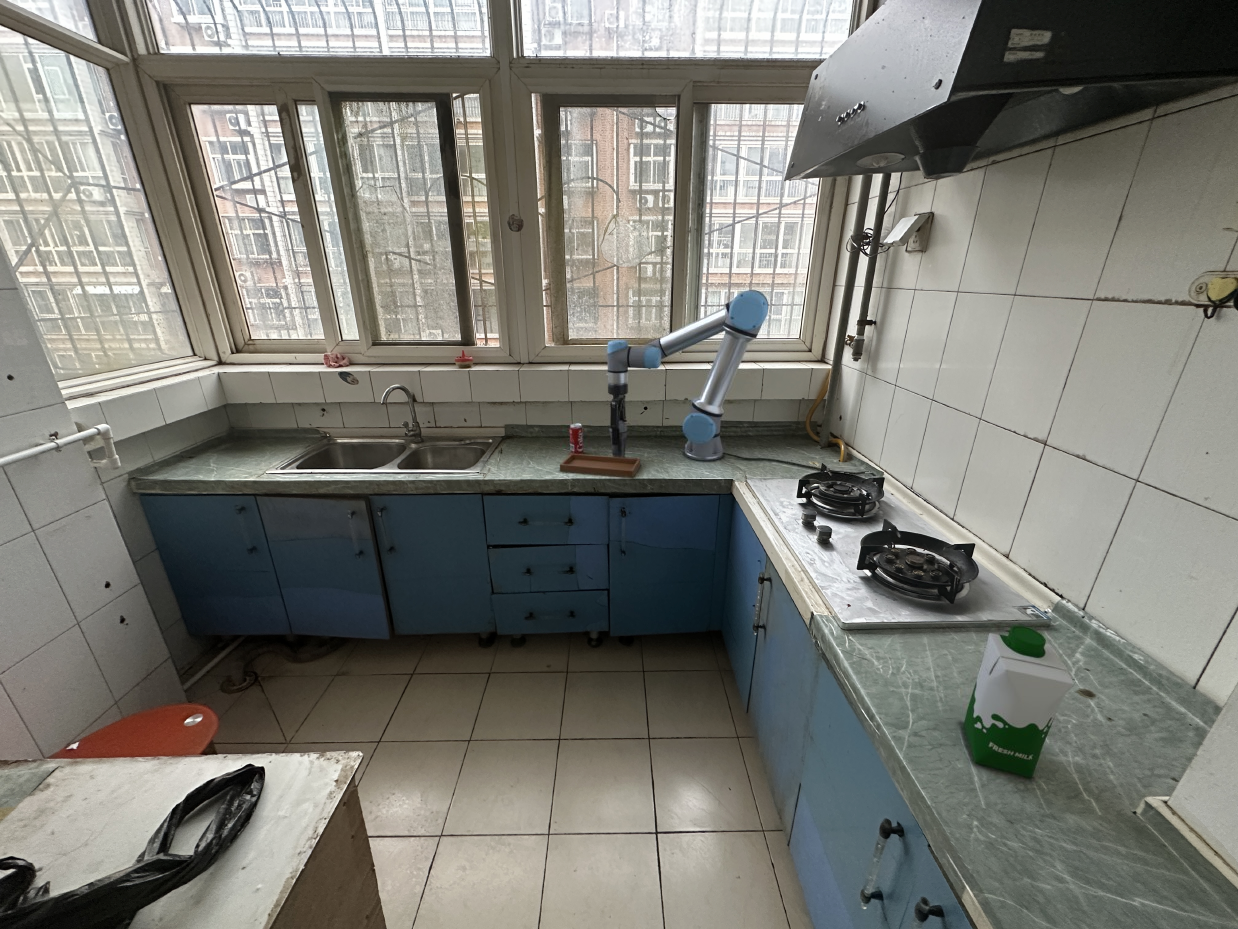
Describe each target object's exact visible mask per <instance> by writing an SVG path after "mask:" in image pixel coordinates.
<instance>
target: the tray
mask: <svg viewBox="0 0 1238 929" xmlns="http://www.w3.org/2000/svg"><path fill="white" fill-rule="evenodd" d="M640 466H641V458H633V457H624V458H621V457H613V456H608V455H596V454H595V455H594V454H584V453H583V454H572V453H571V452H570V454H569V455H568V456H567V457H566V458H565V459H564V460H563V461H562V462H561V463H560V464H559V471H560V472H566V473H576V474H587V475H596V476H597V475H598V476H599V475H600V476H608V477H610V476H611V477H621V478H634V476H635V475H636V473H637V471H638V470H639V468H640Z"/></svg>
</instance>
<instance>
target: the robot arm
mask: <svg viewBox="0 0 1238 929" xmlns="http://www.w3.org/2000/svg"><path fill="white" fill-rule="evenodd" d="M768 313H769V301H768V298H767V296H766V295H765V294H764V293H763V292H761V291H760V290H756V289H748V290H745V291H742V292H740V293H739V294H737V295H736V296H735V297H734V298H733V299H732V300H730V301H729V302H726V303H725V304H724V305H723V307H722V308H721V309H718V310H716V311H713V312H712V313H709V314H707V315H706V316H704V317H702V318H699V319H697V320H694V321H693V322H691V323H689V324H687V325H684V326H682V327H681V328H678V329H676V330H673V331H672V332H669V333H668V334H665V335H663V336H662V337H659V338H657V339H654V340H652V341H649V342H648V343H646V344H645V345H643V346H629V342H628V341H627V340H623V339H614V340H610V341H608V342H607V349H606V350H607V352H606V358H607V359H606V360H607V361H606V362H607V373H606V377H607V383H608V384H607V394H608V395H610V396H612V399H611V402H610V403H609V405H610V418H609V419H610V421H609V422H610V423H609V425H610V426H609V429H612V445H620V434H619V420H621V421H623V422H624V423H627V422H628V420H627V411H626V397H627V396H626V395H628V393H629V384H628V382H629V369H647V370H657V369H659V368H660V366H661V363H662V360H664V359H665V358H668V357H670V356H672V355H674V354H676V353H679V352H681V351H683V350H686V349H688V348H689V347H693V346H694V345H697V344H699V343H701V342H704V341H705V340H708V339H710V338H712V337H714V336H717V335H719V334H721V333H723V332H724V336H723V338H722V340H721V343H720V345H719V346H718V350H717V352H716V355H715V356H714V360H713V362H712V365H711V367H710V370H709V372H708V374H707V376H706V379H705V381H704V384H703V386H702V388H701V392H700V394H699V396H698V397H693V398H692V399H691V402H690V407H689V410H688V411H687V415H686V417H685V418H684V419H683V421H682V432H683V435H684V436H685V437H686V439H687V442H686V443H685V444H684V446H685V448H684V456H685V457H687V458H688V459H691V460H695V461H701V462H712V461H713V462H714V461H717V460H720V459H722V458H723V457H724V456H729V457H734V458H737V459H740V460H747V461H770V462H776V463H783V464H789V465H793V466H798V467H801V468H802V467H803V468H808V469H813V470H816V471H817V470H818V471H822V470H821V468H822V467H818V466H811V465H808V464H802V463H798V462H792V461H788V460H783V459H782V460H781V459H776V458H767V457H744V456H741V455H737V454H732V453H727V452H724V448H723V444H722V440H721V436H720V435H721V424H722V423H721V420H722V417H723V415H724V413H725V410H724V408H723V404H724V402H725V400H726V398H727V395H728V392H729V390H730V388H731V387H732V386H731V385H732V383H733V381H734V379H735V377H736V374H737V372H738V369H739V368H740V365H741V362H742V360H743V358H744V355H745V353H746V351H747V349H748V346H749V345H750V342H752V341H754V340H756V339H757V337H758V335H759V333H760V331H761V329H762V326H763V324H764V322H765V320H766V318H767V316H768ZM614 425H615V426H614ZM612 445H611V446H612ZM827 469H828V470H829V471H831V472H830V473H835V472H844V473H849V474H848V475H864V474H866V473H865V472H869V471H868V470H865V471H857V472H855V471H844V470H835V469H829V468H827ZM844 473H843V474H844ZM868 474H869V475H871V476H873V477H877V475H876V474H875V473H874V472H872V473H868Z"/></svg>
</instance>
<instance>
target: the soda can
mask: <svg viewBox="0 0 1238 929" xmlns="http://www.w3.org/2000/svg"><path fill="white" fill-rule="evenodd" d="M569 448H570V454H571V453H572V454H584V429H583V426H582V424H581V423H572V424H570V426H569Z"/></svg>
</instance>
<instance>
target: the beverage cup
mask: <svg viewBox="0 0 1238 929" xmlns="http://www.w3.org/2000/svg"><path fill="white" fill-rule="evenodd" d="M614 426H615V425H614ZM608 431H609V437H610V446H611V453H612V457H621V458H626V447H627V436H628V432H629V430H628V426H627V423H626V422H623V421H621V420H619V434H620V445H612V429H610V428H609V429H608Z"/></svg>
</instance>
